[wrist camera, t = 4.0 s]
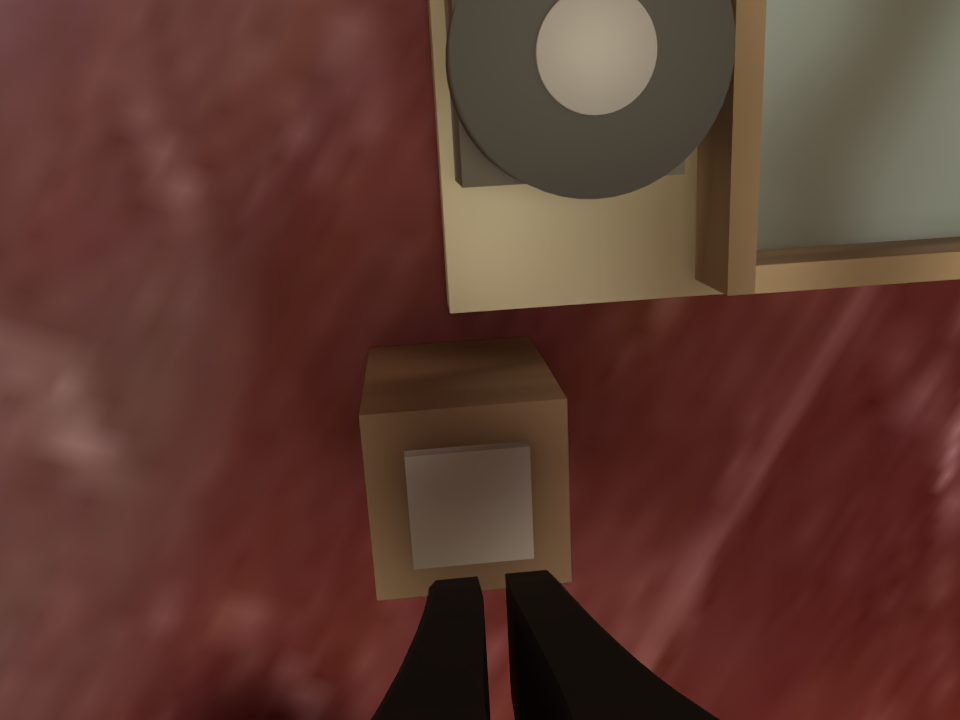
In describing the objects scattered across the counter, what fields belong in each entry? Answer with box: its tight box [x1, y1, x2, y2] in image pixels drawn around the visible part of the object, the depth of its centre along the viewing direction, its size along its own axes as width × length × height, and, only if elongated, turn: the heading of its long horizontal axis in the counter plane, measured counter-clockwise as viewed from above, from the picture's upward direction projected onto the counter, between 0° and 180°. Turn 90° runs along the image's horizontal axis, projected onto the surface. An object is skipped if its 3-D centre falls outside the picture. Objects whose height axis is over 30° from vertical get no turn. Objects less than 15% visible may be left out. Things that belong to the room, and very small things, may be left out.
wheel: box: [446, 0, 735, 199], centre depth 15 cm, size 5×5×4 cm
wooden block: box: [359, 336, 572, 601], centre depth 18 cm, size 4×4×5 cm
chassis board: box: [428, 0, 960, 314], centre depth 18 cm, size 13×8×4 cm, turn 93°
